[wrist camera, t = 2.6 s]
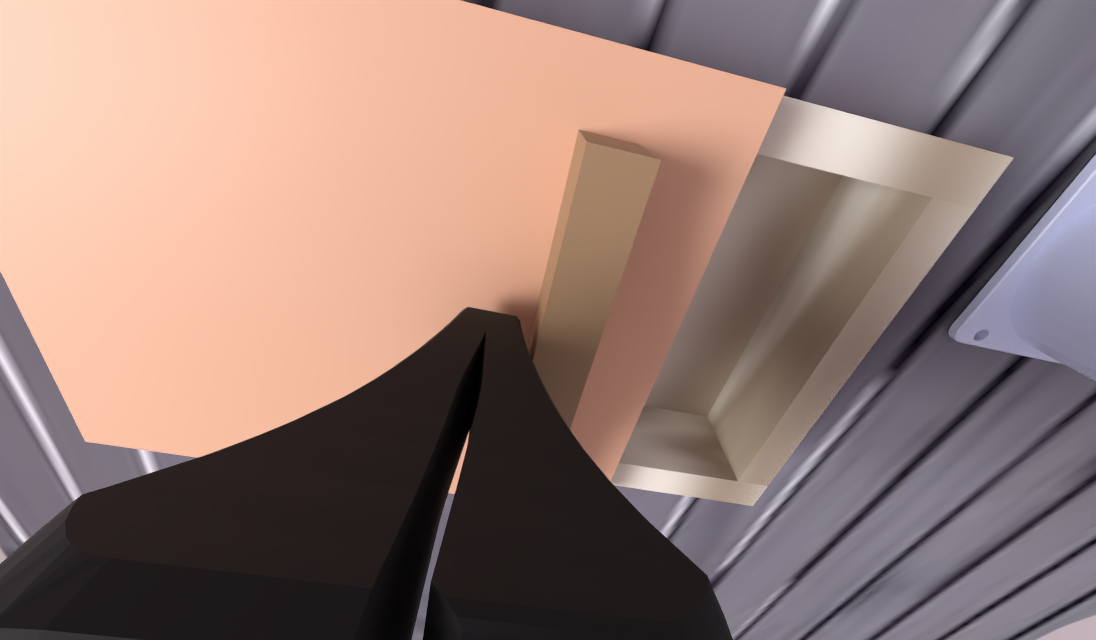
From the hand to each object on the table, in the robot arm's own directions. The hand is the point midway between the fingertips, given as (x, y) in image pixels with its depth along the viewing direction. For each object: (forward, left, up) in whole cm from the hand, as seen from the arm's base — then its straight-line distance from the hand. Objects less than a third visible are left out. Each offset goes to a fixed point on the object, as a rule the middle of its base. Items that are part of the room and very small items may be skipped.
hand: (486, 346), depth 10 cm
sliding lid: (+3, 0, -2) cm, 4 cm away
